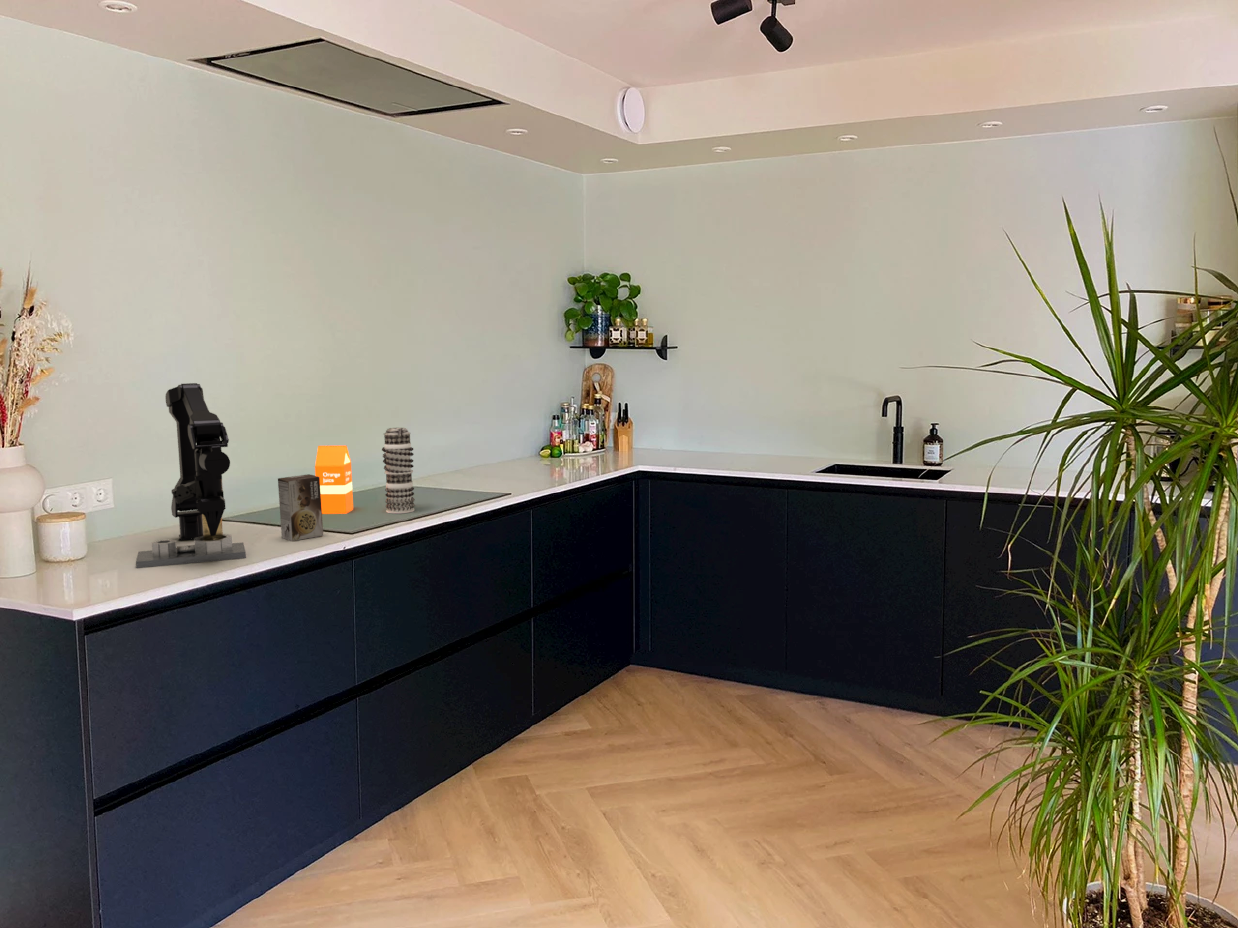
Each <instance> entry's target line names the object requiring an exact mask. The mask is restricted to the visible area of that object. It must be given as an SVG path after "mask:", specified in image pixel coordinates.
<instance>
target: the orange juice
mask: <svg viewBox="0 0 1238 928" xmlns="http://www.w3.org/2000/svg"><path fill="white" fill-rule="evenodd" d="M316 451H317V452H316V458H315V465H314V474H315V475H314V476H318V477H320V493H321V508H322V515H339V514H341V515H343V514H344V515H345V514H346V515H347V514H348V513H350V512H352V511H354V497H353V475H352V460H351V457H350V453H349V449H348V446H347V445H318V446H317V450H316Z"/></svg>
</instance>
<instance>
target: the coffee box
mask: <svg viewBox="0 0 1238 928" xmlns="http://www.w3.org/2000/svg"><path fill="white" fill-rule="evenodd" d="M277 487H278V488H277V489H278V500H279V501H278V502H279V503H278V504H279V516H280V518H279V519H280V530H281V531H280V533H281V538H282V539H283V540H284V539H285V540H287V541H290V542H295V541H300V540H306V539H311V538H318V537H322V536H324V528H323V527H324V525H323V524H324V523H323V514H322V508H321V493H320V477H318V476H315V475H313V474H307V473H306V474H301V475H293V476H286V477H279V478H277Z"/></svg>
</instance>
